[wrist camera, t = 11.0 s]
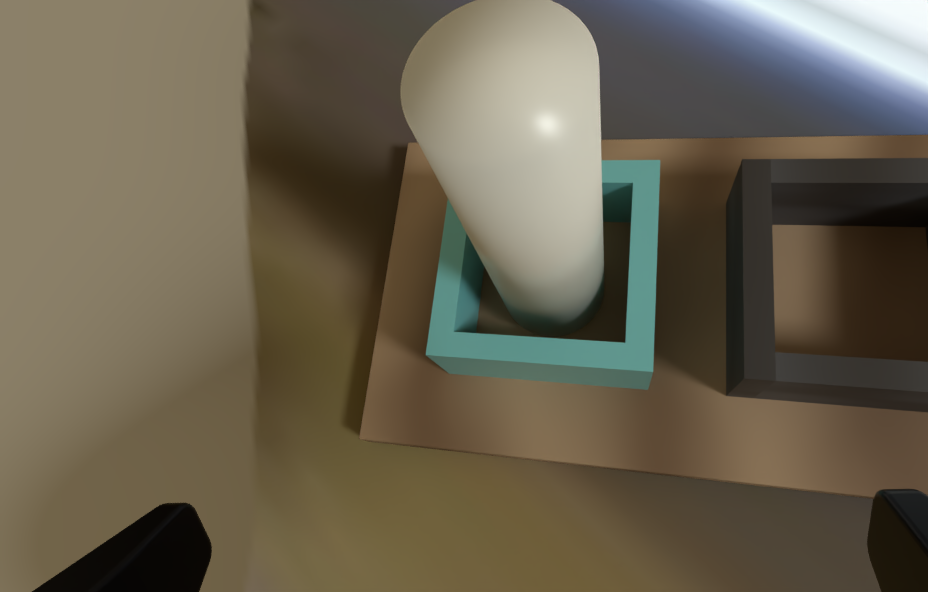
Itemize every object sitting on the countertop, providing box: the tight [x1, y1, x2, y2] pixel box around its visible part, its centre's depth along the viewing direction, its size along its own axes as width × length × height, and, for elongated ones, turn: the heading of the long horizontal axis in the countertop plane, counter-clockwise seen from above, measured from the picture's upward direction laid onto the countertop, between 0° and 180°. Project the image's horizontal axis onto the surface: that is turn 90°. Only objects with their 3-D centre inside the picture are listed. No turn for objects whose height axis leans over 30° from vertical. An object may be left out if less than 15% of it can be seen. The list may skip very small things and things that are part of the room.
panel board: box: [359, 135, 928, 499], centre depth 20 cm, size 22×12×4 cm, turn 83°
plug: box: [401, 0, 605, 337], centre depth 17 cm, size 4×4×12 cm
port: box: [426, 160, 660, 390], centre depth 21 cm, size 7×7×3 cm
